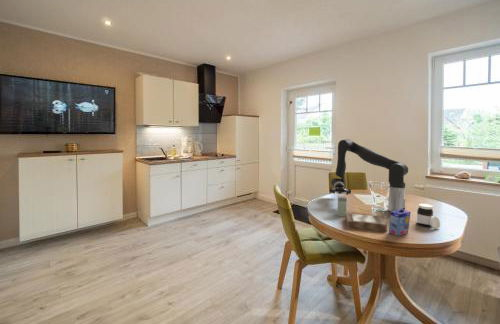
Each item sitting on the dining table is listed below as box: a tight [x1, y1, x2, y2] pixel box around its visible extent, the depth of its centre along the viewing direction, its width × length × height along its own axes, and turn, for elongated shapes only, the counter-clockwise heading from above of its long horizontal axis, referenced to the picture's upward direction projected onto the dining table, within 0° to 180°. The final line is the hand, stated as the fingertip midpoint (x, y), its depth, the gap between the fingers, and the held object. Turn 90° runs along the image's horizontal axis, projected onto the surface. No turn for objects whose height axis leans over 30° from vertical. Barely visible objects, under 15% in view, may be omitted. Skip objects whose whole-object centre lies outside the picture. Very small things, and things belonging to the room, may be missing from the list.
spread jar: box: [416, 203, 441, 230], centre depth 146 cm, size 12×11×12 cm
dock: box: [345, 212, 388, 232], centre depth 147 cm, size 20×14×4 cm
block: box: [336, 196, 348, 217], centre depth 164 cm, size 5×4×12 cm
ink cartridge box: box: [388, 206, 411, 237], centre depth 135 cm, size 10×6×14 cm, turn 117°
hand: (340, 192), depth 174 cm, fingers open, 8 cm apart
